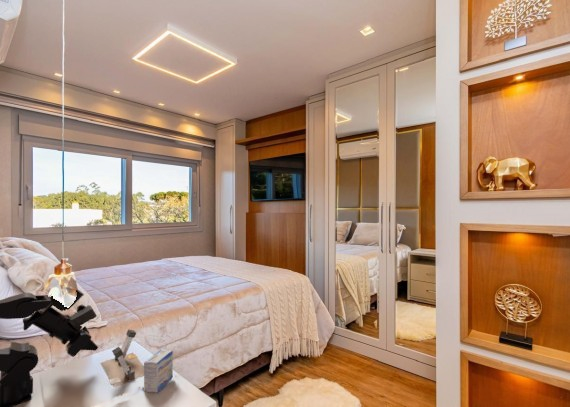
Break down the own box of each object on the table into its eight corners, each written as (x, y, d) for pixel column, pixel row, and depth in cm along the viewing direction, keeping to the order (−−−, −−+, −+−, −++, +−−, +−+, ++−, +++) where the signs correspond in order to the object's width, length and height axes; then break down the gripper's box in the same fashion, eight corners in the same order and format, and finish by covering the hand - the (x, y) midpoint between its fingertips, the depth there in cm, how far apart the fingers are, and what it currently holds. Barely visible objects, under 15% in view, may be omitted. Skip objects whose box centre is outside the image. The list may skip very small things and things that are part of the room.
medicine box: (157, 393, 83) (157, 363, 83) (143, 391, 84) (143, 361, 84) (173, 378, 90) (173, 350, 91) (160, 376, 91) (160, 348, 92)
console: (112, 392, 83) (112, 380, 83) (99, 367, 96) (99, 357, 97) (150, 377, 90) (150, 366, 91) (133, 356, 104) (133, 346, 104)
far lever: (118, 360, 96) (130, 332, 99) (115, 357, 98) (128, 329, 101) (124, 361, 98) (136, 332, 100) (121, 357, 100) (133, 330, 102)
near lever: (127, 378, 87) (114, 354, 85) (124, 374, 89) (111, 350, 87) (133, 374, 89) (121, 349, 86) (130, 370, 91) (118, 346, 89)
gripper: (83, 307, 84) (124, 334, 91) (73, 293, 97) (110, 318, 104) (47, 343, 78) (94, 369, 85) (42, 323, 92) (83, 347, 99)
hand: (96, 348), depth 94 cm, fingers closed
